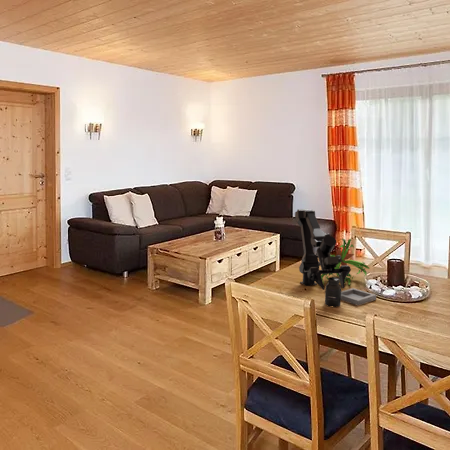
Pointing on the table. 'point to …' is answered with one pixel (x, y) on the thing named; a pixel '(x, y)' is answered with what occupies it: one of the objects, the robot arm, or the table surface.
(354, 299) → the tray
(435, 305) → the table surface
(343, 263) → the decorative plant
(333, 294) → the supplement bottle
